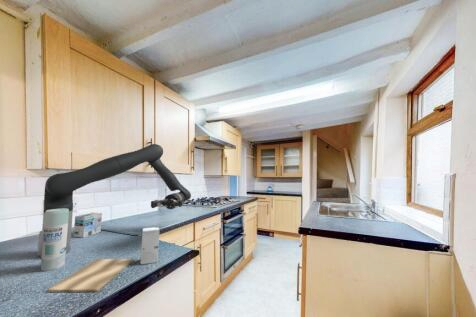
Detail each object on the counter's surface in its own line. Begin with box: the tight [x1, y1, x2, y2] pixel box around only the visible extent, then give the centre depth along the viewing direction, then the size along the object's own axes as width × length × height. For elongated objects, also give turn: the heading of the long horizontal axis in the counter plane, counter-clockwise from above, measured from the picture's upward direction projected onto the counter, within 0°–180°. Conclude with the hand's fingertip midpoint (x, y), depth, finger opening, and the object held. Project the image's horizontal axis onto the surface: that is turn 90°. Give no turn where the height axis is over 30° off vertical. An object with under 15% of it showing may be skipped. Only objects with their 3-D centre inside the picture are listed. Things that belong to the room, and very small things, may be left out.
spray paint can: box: [40, 208, 69, 272], centre depth 71 cm, size 6×6×20 cm
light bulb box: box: [73, 212, 103, 238], centre depth 108 cm, size 11×7×11 cm, turn 168°
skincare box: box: [140, 226, 160, 265], centre depth 76 cm, size 6×4×12 cm
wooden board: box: [46, 258, 135, 293], centre depth 66 cm, size 14×20×1 cm
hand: (162, 205), depth 88 cm, fingers open, 8 cm apart
